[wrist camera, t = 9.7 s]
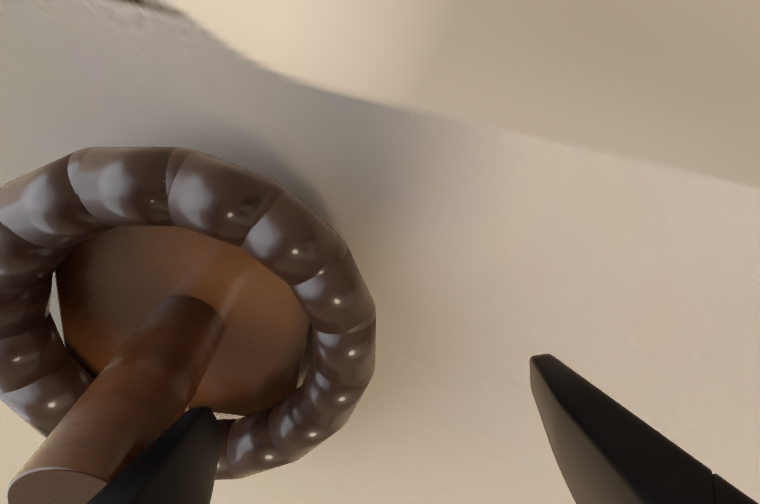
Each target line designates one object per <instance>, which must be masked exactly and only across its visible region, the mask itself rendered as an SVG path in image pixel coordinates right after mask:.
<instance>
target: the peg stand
mask: <svg viewBox="0 0 760 504" xmlns="http://www.w3.org/2000/svg"><path fill="white" fill-rule="evenodd" d="M55 278H56V286H57V293H58V301H59V308H60V315H61V323H62V330H63V338H64V345H65V348H66V351H67V352H68V353H69V354H70V355H71V356H72V357H73V358H74V359H75V360H76V361H77V362H78V363H79V364H80V365H81V366H82V367H83V368H84V369H85V370H86V371H87V372H88V373H89V374H90V375H91V376H92V377H93V378H94V379H95V380H94V381H93V382H92V383H91V385H90V386H89V387H88V388H87V389H86V391H85V392H84V393H83V394H82V396H81V397H80V398H79V399H78V400H77V402H76V403H75V404H74V405H73V407H72V408H71V409H70V410H69V411H68V413H67V414H66V415H65V416H64V418H63V419H62V420H61V421H60V422H59V424H58V425H57V426H56V427H55V429H54V430H53V431H52V432H51V433H50V435H49V436H48V437H47V438H46V440H45V441H44V442H43V443H42V444H41V446H40V447H39V448H38V449H37V451H36V452H35V453H34V454H33V455H32V457H31V458H30V459H29V460H28V462H27V463H26V464H25V465H24V467H23V468H22V469H21V470H20V471H19V473H18V474H17V475H16V476H15V478H14V479H13V480H12V481H11V483H10V484H9V487H8V489H7V494H6V498H7V503H8V504H86V503H87V502H88V501H90V500H91V499H92V498H93V497H94V496H95V495H96V494H97V493H98V492H99V491H100V490H101V489H103V488H104V487H105V486H106V485H107V484H108V483H109V482H110V481H111V480H112V479H113V478H115V477H116V476H117V475H118V474H119V473H120V472H121V471H122V470H123V469H124V468H125V467H127V466H128V465H129V464H130V463H131V462H132V461H133V460H134V459H135V458H136V457H137V456H138V455H140V454H141V453H142V452H143V451H144V450H145V449H146V448H147V447H148V446H149V445H150V444H151V443H153V442H154V441H155V440H156V439H157V438H158V437H159V436H160V435H161V434H162V433H163V432H165V431H166V430H167V429H168V428H169V427H170V426H171V425H172V424H173V423H174V422H175V421H176V420H178V419H179V418H180V417H181V416H182V415H183V414H184V413H185V412H186V411H187V410H188V409H191V408H194V407H201V406H208V407H209V408H210V409H211V410H212V412H216V413H224V414H232V415H241V416H248V415H251V414H254V413H257V412H260V411H263V410H266V409H269V408H272V407H275V406H277V405H278V404H279V403H280V402H282V401H283V400H284V399H285V398H286V397H288V396H289V395H290V394H291V393H293V392H294V391H295V390H296V389H297V386H298V380H299V375H300V370H301V365H302V360H303V355H304V350H305V345H306V340H307V335H308V330H309V325H310V321H309V319H308V317H307V316H306V314H305V312H304V311H303V309H302V307H301V306H300V304H299V302H298V300H297V299H296V297H295V295H294V294H293V292H292V290H291V289H290V287H289V285H288V284H287V283H286V282H284V281H283V280H282V279H281V278H279V277H278V276H277V275H275V274H274V273H273V272H271V271H270V270H269V269H268V268H266V267H265V266H264V265H262V264H261V263H260V262H259V261H257V260H256V259H255V258H253V257H252V256H251V255H249V254H248V253H247V252H246V251H244V250H243V249H242V248H240V247H238V246H235V245H232V244H229V243H226V242H223V241H220V240H217V239H214V238H211V237H208V236H205V235H202V234H200V233H197V232H194V231H191V230H188V229H185V228H182V227H179V226H117V227H115V228H113V229H110V230H108V231H105V232H103V233H101V234H98V235H96V236H94V237H91V238H89V239H86V240H84V241H82V242H79V243H77V244H75V245H74V247H73V248H72V249H71V250H70V252H69V253H68V254H67V256H66V257H65V258H64V259H63V261H62V262H61V263H60V264H59V266H58V267H57V268H56V270H55Z"/></svg>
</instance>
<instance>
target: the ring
mask: <svg viewBox="0 0 760 504" xmlns="http://www.w3.org/2000/svg"><path fill="white" fill-rule="evenodd" d="M117 226H179V227H182V228H185V229H188V230H191V231H194V232H197V233H200V234H202V235H205V236H208V237H211V238H214V239H217V240H220V241H223V242H226V243H229V244H232V245H235V246H238V247H240V248H242V249H243V250H244V251H246V252H247V253H248V254H249V255H251V256H252V257H253V258H255V259H256V260H257V261H259V262H260V263H261V264H262V265H264V266H265V267H266V268H268V269H269V270H270V271H271V272H273V273H274V274H275V275H277V276H278V277H279V278H281V279H282V280H283V281H284V282H286V283H287V284H288V285H289V287H290V289H291V290H292V292H293V294H294V295H295V297H296V299H297V300H298V302H299V304H300V306H301V307H302V309H303V311H304V312H305V314H306V316H307V317H308V319H309V321H310V323H311V325H312V339H313V352H314V359H313V361H312V364H311V366H310V368H309V370H308V372H307V375H306V377H305V379H304V381H303V383H302V385H301V386H300V387H299V388H297V389H296V390H295V391H294V392H293V393H291V394H290V395H289V396H288V397H286V398H285V399H284V400H283V401H282V402H280V403H279V404H278V405H277V406H275V407H272V408H269V409H266V410H263V411H260V412H257V413H254V414H251V415H248V416H245V417H242V418H239V419H220V420H217V421H218V423H219V424H220V426H221V428H222V432H223V439H222V445H221V450H220V455H219V460H218V465H217V471H216V476H215V480H222V479H239V478H244V477H247V476H250V475H253V474H256V473H260V472H263V471H266V470H269V469H272V468H275V467H279V466H282V465H285V464H288V463H291V462H294V461H296V460H299V459H300V458H302V457H303V456H304V455H306V454H307V453H308V452H310V451H311V450H312V449H314V448H315V447H316V446H318V445H319V444H320V443H322V442H323V441H324V440H326V439H327V438H328V437H330V436H331V435H333V434H334V433H335V432H337V431H338V430H339V429H340V428H342V427H343V426H344V425H345V423H346V422H347V421H348V419H349V418H350V416H351V414H352V412H353V410H354V409H355V407H356V405H357V403H358V401H359V399H360V398H361V396H362V394H363V392H364V390H365V389H366V387H367V385H368V383H369V381H370V380H371V378H372V375H373V372H374V369H375V339H376V309H375V304H374V301H373V299H372V296H371V294H370V292H369V290H368V288H367V286H366V284H365V282H364V280H363V278H362V276H361V274H360V272H359V270H358V267H357V265H356V263H355V261H354V259H353V257H352V255H351V253H350V251H349V249H348V247H347V245H346V243H345V242H344V240H343V239H342V238H341V237H340V236H339V235H338V234H337V233H336V232H335V231H334V230H333V229H332V228H330V227H329V226H328V225H327V224H326V223H325V222H324V221H323V220H321V219H320V218H319V217H318V216H317V215H316V214H315V213H313V212H312V211H311V210H310V209H309V208H308V207H307V206H306V205H304V204H303V203H302V202H301V201H300V200H299V199H298V198H296V197H295V196H294V195H293V194H292V193H291V192H290V191H289V190H287V189H286V188H285V187H284V186H283V185H281V184H280V183H278V182H276V181H274V180H272V179H269V178H266V177H264V176H261V175H259V174H256V173H254V172H251V171H248V170H246V169H243V168H241V167H238V166H235V165H233V164H230V163H228V162H225V161H223V160H220V159H217V158H215V157H212V156H210V155H207V154H204V153H202V152H199V151H197V150H193V149H189V148H181V147H90V148H85V149H82V150H78V151H76V152H74V153H72V154H70V155H67V156H65V157H63V158H61V159H59V160H56V161H54V162H52V163H50V164H48V165H45V166H43V167H41V168H39V169H37V170H34V171H32V172H30V173H28V174H26V175H23V176H21V177H19V178H17V179H15V180H12V181H10V182H8V183H6V184H5V185H3V186H2V187H0V400H1V401H3V402H4V403H5V404H6V405H7V406H9V407H10V408H11V409H12V410H13V411H14V412H16V413H17V414H18V415H19V416H20V417H21V418H23V419H24V420H25V421H26V422H27V423H28V424H30V425H31V426H32V427H33V428H34V429H36V430H37V431H38V432H39V433H40V434H41V435H43V436H44V437H45V438H47V437H48V436H49V435H50V433H51V432H52V431H53V430H54V429H55V427H56V426H57V425H58V424H59V422H60V421H61V420H62V419H63V418H64V416H65V415H66V414H67V413H68V411H69V410H70V409H71V408H72V407H73V405H74V404H75V403H76V402H77V400H78V399H79V398H80V397H81V396H82V394H83V393H84V392H85V391H86V389H87V388H88V387H89V386H90V385H91V383H92V382H93V381H94V380H95V379H94V378H93V377H92V376H91V375H90V374H89V373H88V372H87V371H86V370H85V369H84V368H83V367H82V366H81V365H80V364H79V363H78V362H77V361H76V360H75V359H74V358H73V357H72V356H71V355H70V354H69V353H68V352H67V351H66V348H65V346H64V344H63V341H62V339H61V337H60V334H59V332H58V330H57V327H56V325H55V323H54V320H53V318H52V316H51V313H50V311H49V309H50V298H51V287H52V276H53V272H54V271H55V270H56V268H57V267H58V266H59V264H60V263H61V262H62V261H63V259H64V258H65V257H66V256H67V254H68V253H69V252H70V250H71V249H72V248H73V247H74V245H75V244H77V243H79V242H82V241H84V240H86V239H89V238H91V237H94V236H96V235H98V234H101V233H103V232H105V231H108V230H110V229H113V228H115V227H117Z"/></svg>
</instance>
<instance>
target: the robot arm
mask: <svg viewBox="0 0 760 504" xmlns="http://www.w3.org/2000/svg"><path fill="white" fill-rule="evenodd" d="M530 383H531V389H532V393H533V396H534V399H535V402H536V405H537V408H538V410H539V413H540V416H541V419H542V422H543V425H544V428H545V431H546V433H547V436H548V439H549V442H550V445H551V448H552V451H553V453H554V456H555V459H556V461H557V464H558V466H559V468H560V471H561V473H562V475H563V477H564V479H565V481H566V483H567V486H568V488H569V490H570V492H571V494H572V496H573V498H574V500H575V502H576V504H758V503H757V502H755V501H754V500H753V499H751V498H750V497H748V496H747V495H745V494H744V493H742V492H741V491H740V490H738V489H737V488H735V487H734V486H733V485H731V484H730V483H729V482H727V481H726V480H724V479H723V478H722V477H720V476H719V475H717V474H713V475H712V471H711V470H710V469H709V468H707V467H706V466H705V465H703V464H702V463H701V462H699V461H698V460H696V459H695V458H694V457H692V456H691V455H689V454H688V453H687V452H685V451H684V450H683V449H681V448H680V447H678V446H677V445H676V444H674V443H673V442H671V441H670V440H669V439H667V438H666V437H665V436H663V435H662V434H660V433H659V432H658V431H656V430H655V429H653V428H652V427H651V426H649V425H648V424H647V423H645V422H644V421H642V420H641V419H640V418H638V417H637V416H635V415H634V414H633V413H631V412H630V411H629V410H627V409H626V408H624V407H623V406H622V405H620V404H619V403H617V402H616V401H615V400H613V399H612V398H611V397H609V396H608V395H606V394H605V393H604V392H602V391H601V390H599V389H598V388H597V387H595V386H594V385H593V384H591V383H590V382H588V381H587V380H586V379H584V378H583V377H581V376H580V375H579V374H577V373H576V372H574V371H573V370H572V369H570V368H569V367H568V366H566V365H565V364H563V363H562V362H561V361H559V360H558V359H556V358H555V357H554V356H552V355H550V354H542V355H535V356H532V357H531V358H530ZM222 439H223V432H222V428H221V426H220V424H219V423H218V421H217V419H216V417H215V415H214V414H213V412H212V410H211V409H210V408H209V407H208V406H201V407H194V408H191V409H189V410H187V411H186V412H185V413H184V414H183V415H182V416H181V417H180V418H179V419H178V420H176V421H175V422H174V423H173V424H172V425H171V426H170V427H169V428H168V429H167V430H166V431H165V432H163V433H162V434H161V435H160V436H159V437H158V438H157V439H156V440H155V441H154V442H153V443H151V444H150V445H149V446H148V447H147V448H146V449H145V450H144V451H143V452H142V453H141V454H140V455H138V456H137V457H136V458H135V459H134V460H133V461H132V462H131V463H130V464H129V465H128V466H127V467H125V468H124V469H123V470H122V471H121V472H120V473H119V474H118V475H117V476H116V477H115V478H113V479H112V480H111V481H110V482H109V483H108V484H107V485H106V486H105V487H104V488H103V489H101V490H100V491H99V492H98V493H97V494H96V495H95V496H94V497H93V498H92V499H91V500H90V501H88V502H87V503H86V504H210V501H211V496H212V491H213V486H214V481H215V476H216V471H217V465H218V460H219V455H220V450H221V445H222Z"/></svg>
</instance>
